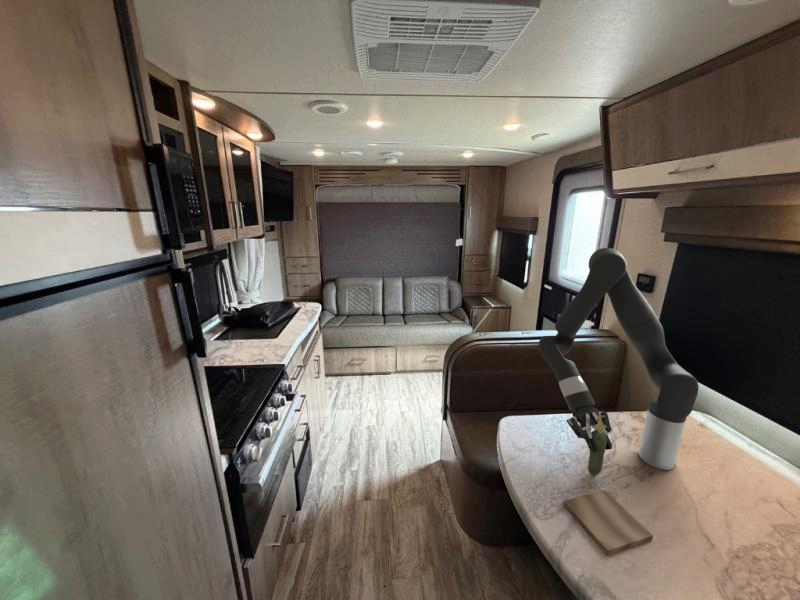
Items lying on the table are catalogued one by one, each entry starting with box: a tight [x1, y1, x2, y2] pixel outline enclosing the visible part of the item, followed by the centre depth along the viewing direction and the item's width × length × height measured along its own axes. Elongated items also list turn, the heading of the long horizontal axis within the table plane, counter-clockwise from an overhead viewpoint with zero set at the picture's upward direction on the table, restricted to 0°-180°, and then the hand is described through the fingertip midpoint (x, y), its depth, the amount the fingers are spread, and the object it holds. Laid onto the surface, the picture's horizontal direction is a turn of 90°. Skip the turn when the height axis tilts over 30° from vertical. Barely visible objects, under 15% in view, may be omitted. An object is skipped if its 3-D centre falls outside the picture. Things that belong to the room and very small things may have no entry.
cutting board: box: [562, 489, 654, 556], centre depth 82 cm, size 14×14×2 cm
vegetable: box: [587, 418, 607, 477], centre depth 94 cm, size 4×4×20 cm
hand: (602, 450), depth 92 cm, fingers closed on vegetable, 4 cm apart
